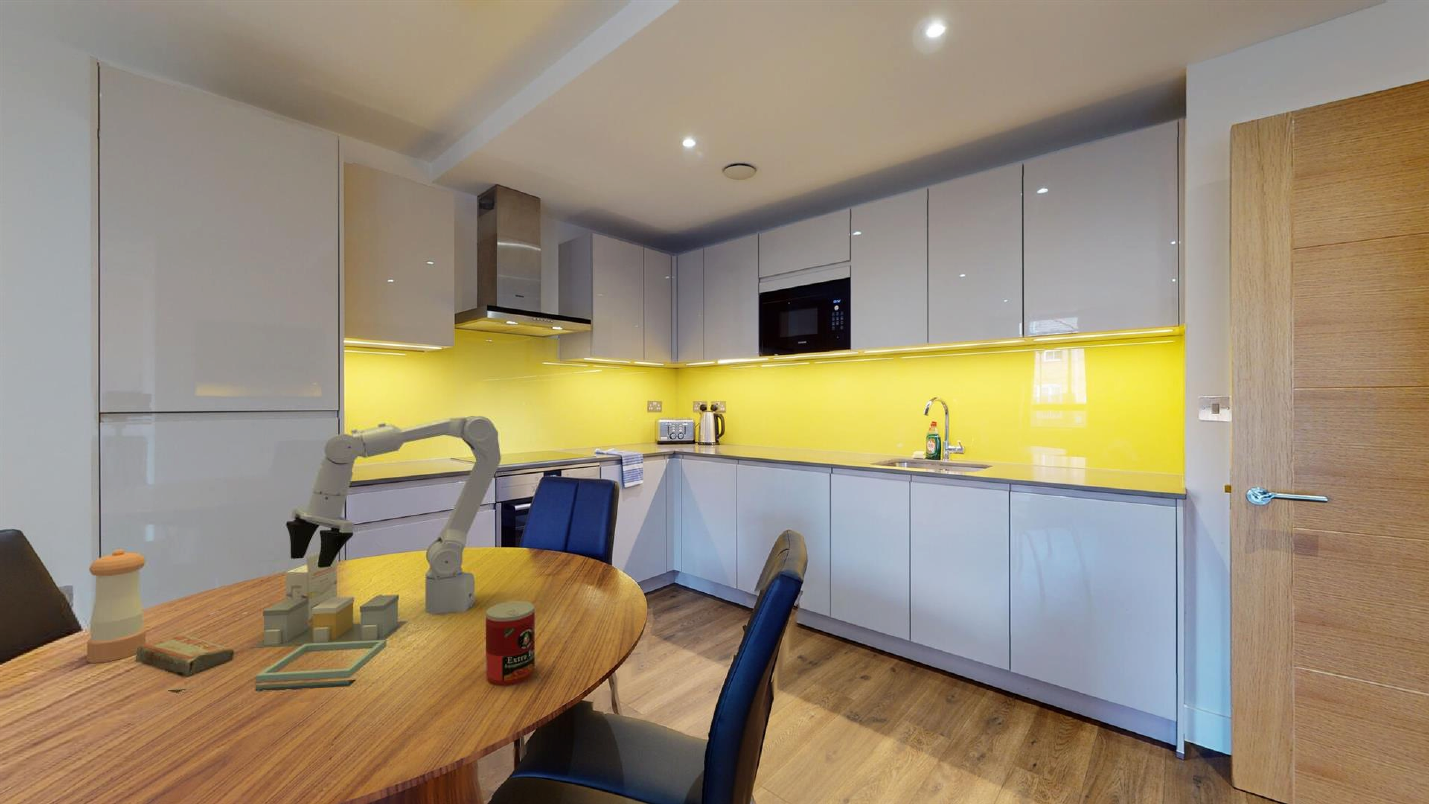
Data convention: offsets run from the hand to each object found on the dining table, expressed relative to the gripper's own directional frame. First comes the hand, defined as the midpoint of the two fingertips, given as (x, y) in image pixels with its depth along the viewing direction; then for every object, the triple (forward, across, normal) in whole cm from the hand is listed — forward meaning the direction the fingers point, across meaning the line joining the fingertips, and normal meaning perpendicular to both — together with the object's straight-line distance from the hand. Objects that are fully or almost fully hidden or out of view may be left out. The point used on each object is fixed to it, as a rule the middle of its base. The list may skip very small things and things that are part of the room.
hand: (310, 562), depth 106 cm
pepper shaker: (+22, -26, -12) cm, 36 cm away
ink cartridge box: (+15, -8, +10) cm, 20 cm away
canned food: (+8, +49, +2) cm, 50 cm away
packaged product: (+19, -6, -12) cm, 23 cm away
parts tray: (+14, +18, -6) cm, 24 cm away
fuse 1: (+14, -1, 0) cm, 14 cm away
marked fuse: (+12, +7, +3) cm, 15 cm away
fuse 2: (+10, +15, +6) cm, 19 cm away
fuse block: (+14, +7, +3) cm, 16 cm away
